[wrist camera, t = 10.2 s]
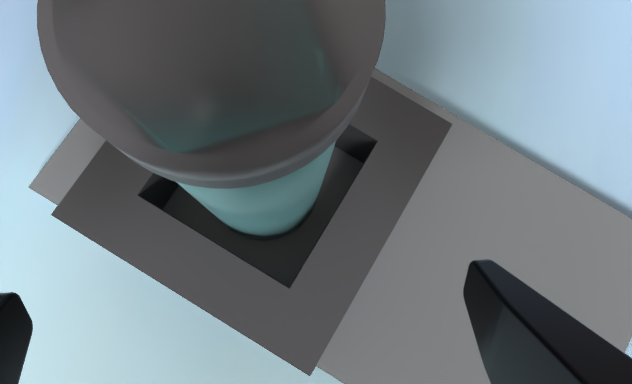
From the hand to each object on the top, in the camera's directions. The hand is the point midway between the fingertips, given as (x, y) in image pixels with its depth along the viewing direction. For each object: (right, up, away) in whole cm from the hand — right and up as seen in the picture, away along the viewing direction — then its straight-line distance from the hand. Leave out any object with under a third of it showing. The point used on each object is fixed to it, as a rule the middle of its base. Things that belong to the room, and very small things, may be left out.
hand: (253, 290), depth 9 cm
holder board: (+3, +1, +11) cm, 11 cm away
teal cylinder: (-1, +2, +10) cm, 10 cm away
